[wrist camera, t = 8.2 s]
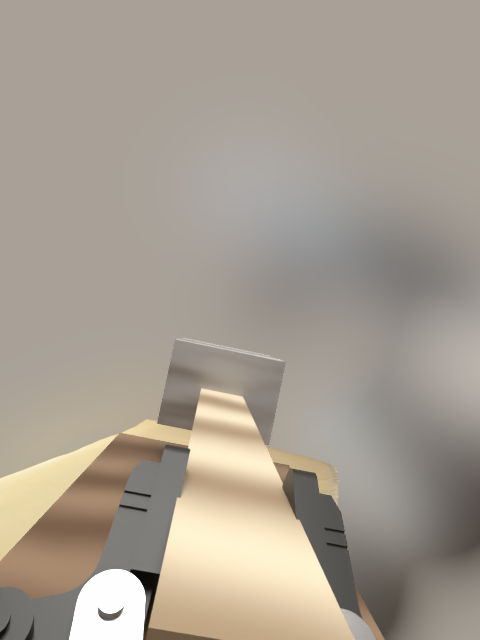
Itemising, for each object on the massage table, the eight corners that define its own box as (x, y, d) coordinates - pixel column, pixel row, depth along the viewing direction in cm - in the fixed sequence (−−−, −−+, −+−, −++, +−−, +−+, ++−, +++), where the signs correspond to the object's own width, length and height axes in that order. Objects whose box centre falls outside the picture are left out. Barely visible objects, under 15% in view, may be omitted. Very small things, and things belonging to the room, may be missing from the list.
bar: (499, 915, 6) (573, 479, 6) (-98, 833, 5) (9, 367, 6) (257, 421, 38) (270, 355, 38) (169, 404, 37) (183, 337, 37)
